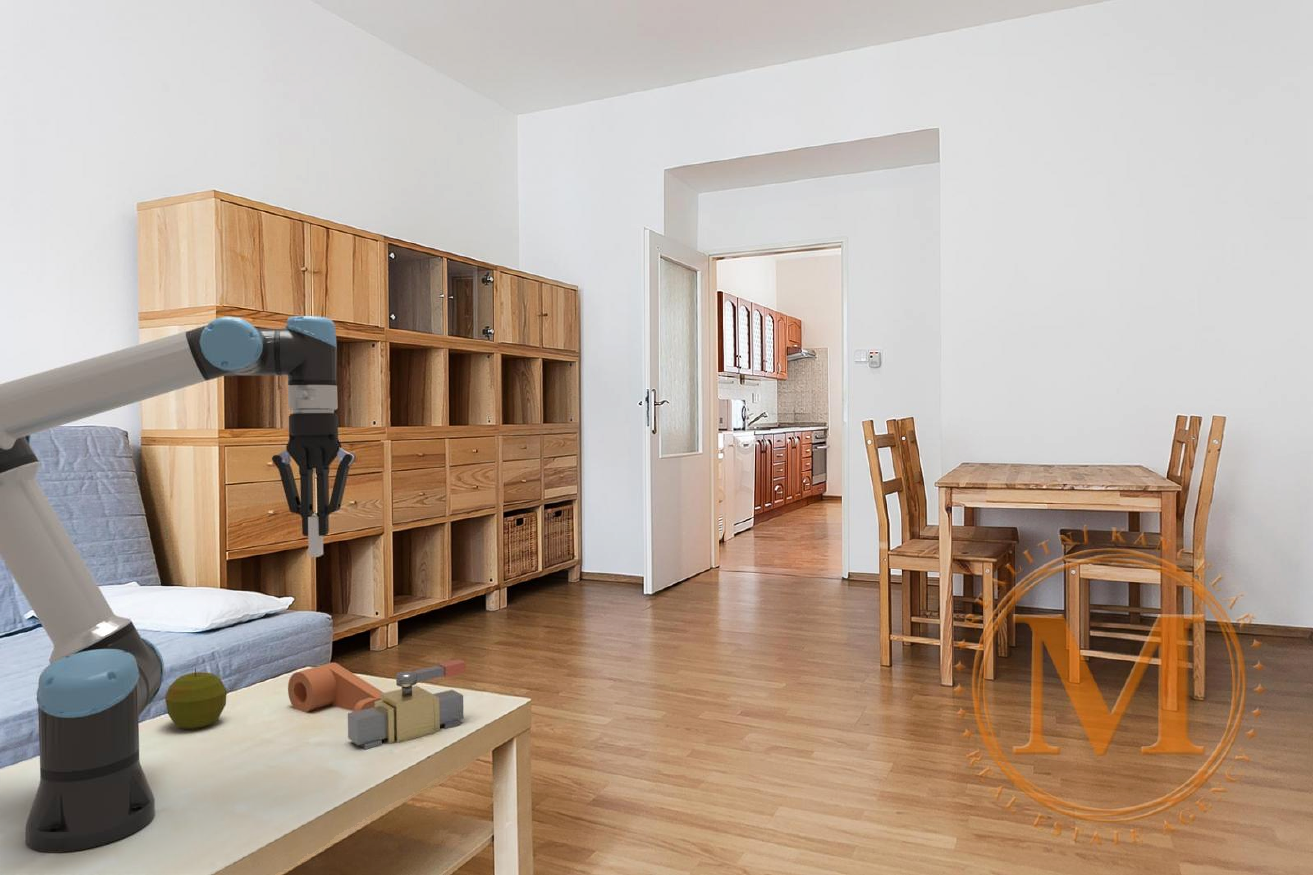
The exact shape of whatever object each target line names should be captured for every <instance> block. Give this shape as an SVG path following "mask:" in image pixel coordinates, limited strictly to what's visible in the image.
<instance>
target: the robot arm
mask: <svg viewBox="0 0 1313 875" xmlns="http://www.w3.org/2000/svg"><path fill="white" fill-rule="evenodd" d="M336 330H337V329H336V324H335V322H334V320H332V319H330V318H329V317H324V316H318V315H317V316H316V315H303V316H302V315H295V316H290V317H288V318H287V320H286V324H285V327H284V328H274V329H273V328H257V327H255V326H254V325H253V324H252V323H250V322H249V321H247V320H246V319H244V318H240V317H238V316H237V317H236V316H235V317H234V316H221V317H218V318H215V319H213V320H211V321H210V322H209V323H208V324H207V325H204V326H201V327H197V328H194V329H193V328H192V329H191V330H187V331H183V332H178V333H176V334H172V335H168V336H165V337H161V338H158V339H154V340H151V341H147V342H144V343H140V344H137V345H134V346H130V347H125V348H122V349H119V350H116V351H112V352H109V353H106V354H105V353H104V354H102V355H98V356H95V357H91V358H87V359H85V360H81V361H77V362H73V363H70V364H67V365H63V366H60V367H57V368H52V369H49V370H46V371H42V372H39V373H34V374H32V375H28V376H24V377H21V378H17V379H14V380H11V381H7V382H3V383H0V558H1V559H2V560H3V562H4V564H5V566H6V568H7V569H8V571H9V573H10V574H11V576H12V578H13V579H14V581H15V583H16V584H17V586H18V587H19V589H20V591H21V593H22V594H23V596H24V598H25V599H26V601H27V602H28V605H29V606H30V608H31V609H32V611H33V613H34V614H35V616H36V618H37V619H38V621H39V623H40V624H41V626H42V627H43V629H44V631H45V633H46V634H47V636H48V637H49V639H50V641H51V643H52V644H53V650H52V652H51V654H50V658H49V660H48V661H49V663H50V664H48V665H47V666H46V667H45V668H44V669H43V670H42V672H41V673H40V675H39V678H38V684H37V685H38V686H37V690H36V702H37V703H36V704H37V706H38V708H37V709H38V710H37V711H38V739H39V740H38V741H39V742H38V743H39V745H38V747H39V748H38V749H39V767H40V768H39V770H40V771H39V772H40V773H39V774H40V776H39V777H40V779H39V784H38V785H39V786H38V788H37V790H36V793H35V797H34V799H33V802H32V806H31V808H30V811H29V814H28V817H27V820H26V823H25V843H26V846H28V848H31V849H32V850H35V851H39V852H45V853H46V852H47V853H64V852H72V851H73V852H74V851H80V850H85V849H89V848H90V849H92V848H94V847H95V848H96V847H99V846H102V845H106V844H109V843H112V842H115V841H118V840H120V839H123V838H125V837H128V836H131V834H134V833H136V832H137V831H139V830H141V829H143V828H144V827H146V825H148V824H149V823H150V822H152V820H153V819H154V817H155V814H156V810H155V809H156V807H155V806H156V805H155V804H156V803H155V796H154V793H153V791H152V788H151V786H150V784H149V782H148V779H147V777H146V774H145V771H144V769H143V767H142V765H141V762H140V728H139V721H140V716H141V714H143V712H144V711H145V709H146V708H147V707H148V706H149V705H150V704H151V703H152V702H153V701H154V699H155V698H156V696H157V695H158V693H159V692H160V690H161V686H162V684H163V681H164V680H163V679H164V677H165V675H164V674H165V663H164V659H163V658H164V657H163V656H162V654H161V652H160V650H159V649H158V648H157V646H156V645H154V644H153V642H151V641H150V640H148V639H146V638H144V637H141V635H140V633H139V631H138V630H137V629H136V626H135V625H134V623H133V621H132V620H131V619H130V618H127V617H124V616H123V617H122V616H118V615H117V614H115V613H114V611H113V610H112V608H111V606H110V605H109V603H108V601H107V599H106V598H105V596H104V595H103V593H102V590H101V588H100V587H99V586H98V584H97V582H96V580H95V579H94V577H93V575H92V574H91V572H90V570H89V569H88V567H87V565H86V563H85V562H84V559H83V558H82V556H81V555H80V553H79V551H78V550H77V548H76V545H75V544H74V543H73V541H72V539H71V537H70V536H69V534H68V533H67V531H66V529H65V527H64V526H63V524H62V522H61V520H60V519H59V517H58V515H57V513H56V511H55V510H54V508H53V507H52V505H51V503H50V502H49V500H48V498H47V497H46V495H45V493H44V491H43V490H42V488H41V486H40V484H39V482H38V481H37V479H36V475H37V473H38V470H39V468H40V466H41V462H40V461H39V459H38V457H37V456H36V454H35V452H34V451H33V449H32V447H31V445H30V442H31V435H35V434H37V433H40V432H44V431H46V430H47V431H48V430H50V429H54V428H57V427H60V426H63V425H66V424H67V425H68V424H70V423H74V422H76V421H79V420H84V419H86V418H89V417H93V416H96V415H99V414H102V413H106V412H108V411H113V410H115V409H118V408H121V407H125V406H129V405H132V404H134V403H138V402H142V401H145V400H147V399H151V398H154V397H159V396H161V395H165V394H168V393H171V392H174V391H177V390H181V389H183V388H187V387H191V386H194V385H197V384H200V383H203V382H207V381H211V380H214V379H218V378H221V377H224V376H226V377H234V376H287V380H288V381H287V393H288V394H287V397H288V398H287V399H288V410H290V411H292V413H290V414H289V415H288V437H289V439H288V442H287V444H286V445H285V446H286V447H285V450H283V451H281V452H280V453H279V454H274V455H272V457H271V461H272V462H273V464H274V465H275V467H276V468H277V469H278V472H279V476H280V480H281V483H282V487H283V492H284V494H285V498H286V502H287V506H288V509H289V512H290V513H292V514H296V515H299V516H300V517H301V526H302V528H301V532H302V535H303V537H307V540H308V558H319V557H321V556H323V555H324V536H327V535H329V532H330V529H329V525H330V524H329V522H330V520H329V516H330V514H332V513H334V512H335V513H336V512H337V511H339V510H340V509H341V506H342V502H343V497H344V493H345V488H346V484H347V480H348V475H349V473H350V468H351V466H352V464H353V463H354V462H355V459H356V457H357V456H356V455H355V453H349V452H348V451H346V450H345V449H343V447H342V443H341V442H340V440H339V417H338V416H339V415H338V414H337V413H335V411H336V410H337V409H338V408H339V406H338V345H337V332H336ZM337 456H338V458H337ZM291 458H292V459H291ZM336 458H337V462H338V467H337V470H336V474H335V478H334V482H333V487H332V491H331V495H330V484H329V481H330V480H329V478H330V477H329V474H330V466H331V465H332V463H333V462H334V460H335V459H336ZM292 460H293V461H294V462H295V463H296V465H297V466H298V473H299V475H300V476H299V477H300V479H299V480H300V495H299V491H298V488H297V483H296V480H295V476H294V473H293V472H294V471H293V469H292V466H291V463H292ZM314 471H315V475H316V476H315V477H316V511H315V510H314V481H313V480H314V479H313V477H314V476H313V474H314ZM315 512H316V513H315ZM314 513H315V515H314Z"/></svg>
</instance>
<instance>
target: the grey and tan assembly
mask: <svg viewBox="0 0 1313 875" xmlns="http://www.w3.org/2000/svg"><path fill="white" fill-rule="evenodd" d="M464 716H465V715H464V695H463V694H462V693H460V692H457V691H455V690H454V689H449V690H445V691H441V692H436V693H432V692H430V691H428V690H426V689H424V688H422V687H420V686H419V685H413V686H407V687H401V689H396V690H391V691H387V692H384V693H381V700H378V701H375V707H373V708H369V709H364V710H360V711H356V712H353V711H351V712H348V713H347V739H349V740H350V741H351V742H352V743H354V744H355V745H357V746H360V747H361V749H362V748H363V749H364V750H369V749H372V748H375V747H379V746H382V742H383V741H384V742H386V743H387V744H393V743H401V742H404V741H410V740H412V739H416V738H421V737H425V736H428V735H432V734H435V733H437V732H439V731H440V728H444V729H445V730H446V729H450V728H453V727H458V726H461V720H463V719H464ZM382 740H383V741H382Z"/></svg>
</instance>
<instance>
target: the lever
mask: <svg viewBox="0 0 1313 875" xmlns="http://www.w3.org/2000/svg"><path fill="white" fill-rule="evenodd" d="M464 673H467V662H466V661H464V660H462V659H459V658H458V659H453V660H450V661H444V662H441V663H438V664H437V665H433V666H429V667H428V666H427V667H424V668H420V669H415V670H405V671H399V672H397V673H396V674H395V675H396V676H395V677H396V679H395V681H396V686H397V687H401V688H402V687H407V686H412V687H413V686H416V685H417V684H418V683H421V682H425V681H430V680H433V679H438V678H442V677H444V678H446V677H451V676H455V675H458V674H459V675H460V674H464Z"/></svg>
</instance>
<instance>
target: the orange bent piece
mask: <svg viewBox="0 0 1313 875" xmlns="http://www.w3.org/2000/svg"><path fill="white" fill-rule="evenodd" d="M287 684H288V685H287V691H288V692H287V694H288V698H289V702H290V704H291V705H292V708H294V710H296V711H301V712H304V713H308V712H311V711H314V710H318V709H321V708H324V707H328V706H333V707H337V708H341V709H344V710H348V711H351V712H356V711H360V710H364V709H369V708H373V707H375V701H378V700H381V693H385V692H384V691H382V690H380V689H379V688H377V687H375V686H374V685H373V684H371V683H369V682H368V681H366V680H365V679H363V678H361V677H359V676H358V675H357V674H354V673H353V672H351V671H350V670H348V669H347V668H345V667H343V666H341V664H339V663H336V662H329V663H326V664H321V665H318V666H315V667H312V668H308V669H303V670H300V671H297V672H294V673H293V674H292V675H291V676H290V677H289V680H288V683H287Z"/></svg>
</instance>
